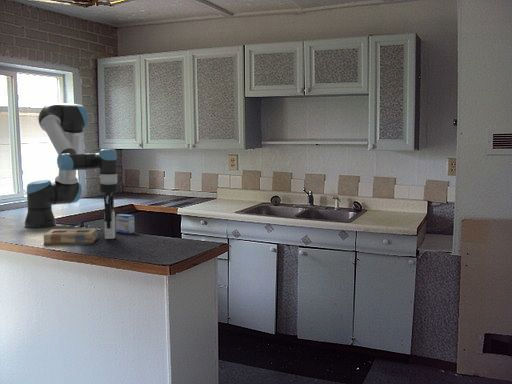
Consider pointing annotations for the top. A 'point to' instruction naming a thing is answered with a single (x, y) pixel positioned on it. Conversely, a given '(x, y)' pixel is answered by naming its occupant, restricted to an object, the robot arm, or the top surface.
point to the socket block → (70, 236)
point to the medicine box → (125, 223)
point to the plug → (112, 226)
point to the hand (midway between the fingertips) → (109, 234)
